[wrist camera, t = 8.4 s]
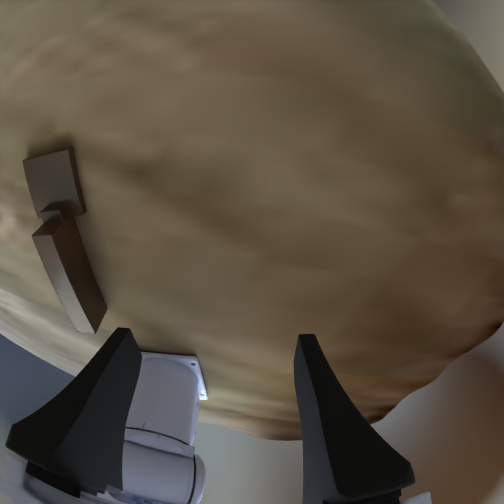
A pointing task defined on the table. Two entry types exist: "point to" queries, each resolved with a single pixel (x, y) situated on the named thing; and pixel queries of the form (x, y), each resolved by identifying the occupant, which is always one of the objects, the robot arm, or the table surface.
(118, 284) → the table surface
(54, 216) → the spatula
